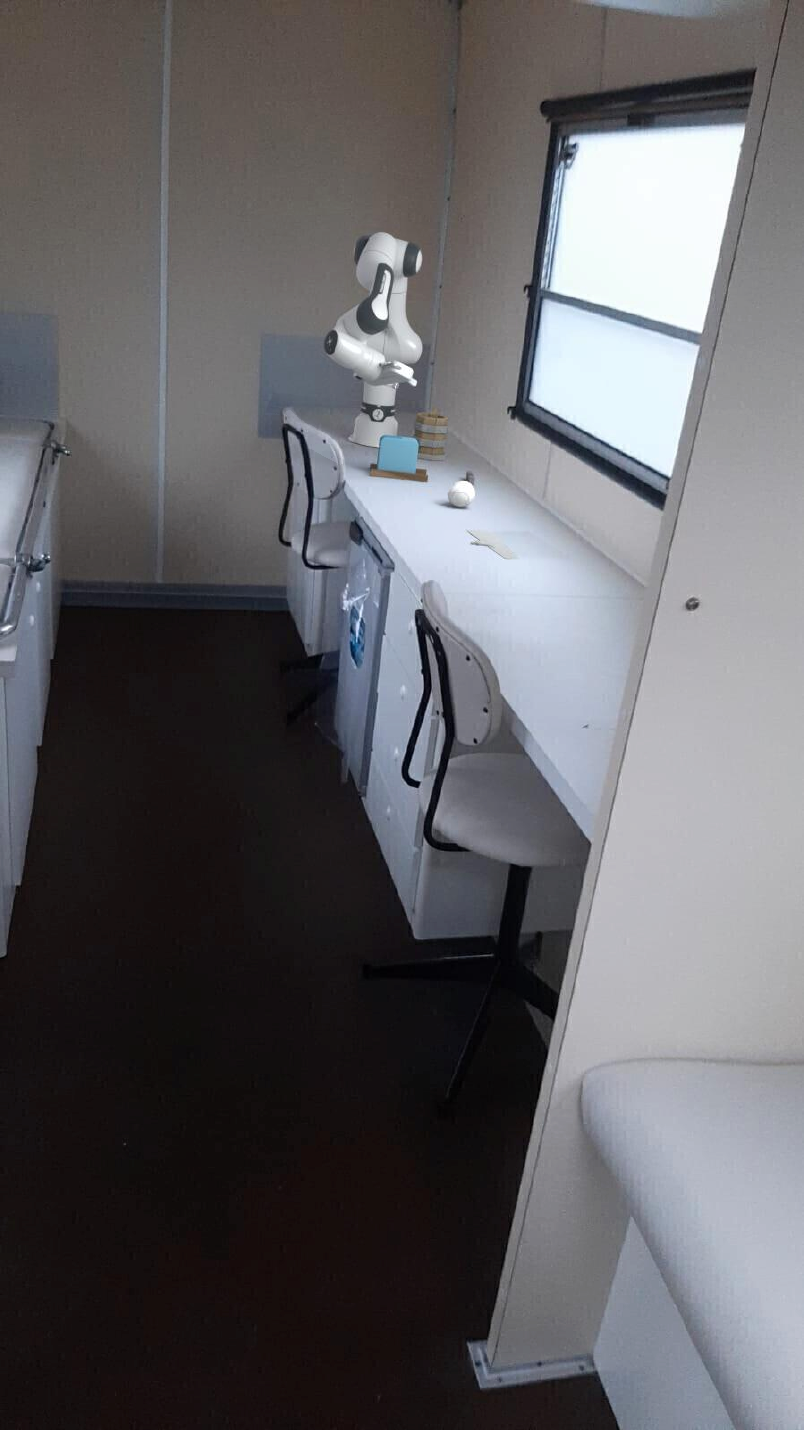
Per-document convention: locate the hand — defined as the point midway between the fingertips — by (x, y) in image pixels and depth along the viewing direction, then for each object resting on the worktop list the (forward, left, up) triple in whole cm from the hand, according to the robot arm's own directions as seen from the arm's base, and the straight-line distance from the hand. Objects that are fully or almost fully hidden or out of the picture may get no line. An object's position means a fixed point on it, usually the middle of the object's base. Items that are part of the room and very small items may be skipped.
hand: (406, 385), depth 349 cm
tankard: (-37, +13, -28) cm, 48 cm away
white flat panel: (+69, +29, -28) cm, 80 cm away
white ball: (+34, +18, -28) cm, 47 cm away
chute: (+2, +8, -28) cm, 29 cm away
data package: (+2, 0, -28) cm, 28 cm away
